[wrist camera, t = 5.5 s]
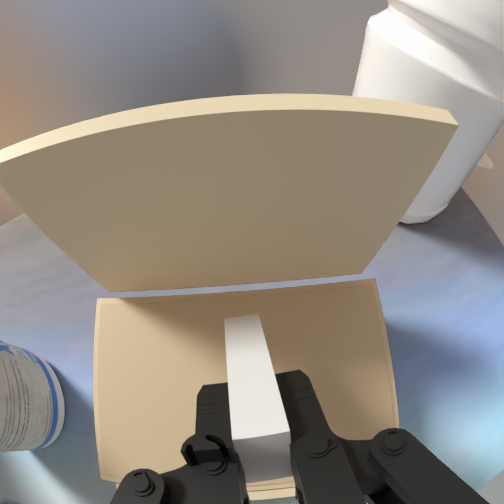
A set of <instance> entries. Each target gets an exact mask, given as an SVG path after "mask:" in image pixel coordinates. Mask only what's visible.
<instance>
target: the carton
mask: <svg viewBox="0 0 504 504" xmlns="http://www.w3.org/2000/svg"><path fill="white" fill-rule="evenodd" d="M257 313H258V314H259V318H260V321H261V325H262V329H263V333H264V336H265V340H266V344H267V348H268V351H269V355H270V359H271V363H272V366H273V370H274V374H278V373H283V372H288V371H294V370H299V369H300V370H301V371H302V372H303V373H305V374H306V375H307V376H308V377H309V379H310V381H311V384H312V386H313V389H314V391H315V393H316V397H317V398H318V401H319V403H320V406H321V408H322V411H323V413H324V415H325V418H326V420H327V423H328V425H329V427H330V429H331V431H332V432H333V433H334V434H336V435H337V436H339V437H341V438H344V439H347V440H370V439H373V437H374V436H375V435H376V434H378V433H379V432H380V431H382V430H385V429H387V428H400V426H399V415H398V405H397V396H396V388H395V380H394V373H393V366H392V360H391V354H390V348H389V342H388V336H387V331H386V326H385V321H384V316H383V311H382V306H381V301H380V297H379V292H378V288H377V284H376V280H375V278H373V279H365V280H356V281H347V282H337V283H328V284H318V285H308V286H297V287H286V288H275V289H263V290H251V291H238V292H224V293H209V294H193V295H175V296H156V297H133V298H104V299H97V307H96V320H95V335H94V362H93V393H94V419H95V434H96V446H97V455H98V464H99V471H100V478H101V480H106V481H111V482H116V489H118V487H119V485H120V483H121V481H122V479H123V478H124V477H125V475H126V474H128V473H129V472H131V471H133V470H136V469H140V468H143V469H151V470H153V471H155V472H157V473H158V474H161V473H165V472H168V471H172V470H175V469H178V468H180V467H182V466H184V465H185V464H187V463H186V461H185V459H184V457H183V456H182V454H181V452H180V450H181V447H182V444H183V443H184V442H185V441H186V440H187V439H188V438H189V437H191V436H192V435H194V434H195V425H196V408H197V407H196V403H197V394H198V393H199V391H200V389H201V388H202V386H203V385H208V384H217V383H225V382H228V377H227V361H226V344H225V325H224V318H231V317H238V316H245V315H251V314H257ZM246 487H247V493H248V496H249V499H250V500H264V499H275V498H284V497H292V496H296V495H295V482H294V478H293V476H290V477H285V478H280V479H274V480H268V481H261V482H254V483H246Z"/></svg>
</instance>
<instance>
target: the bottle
mask: <svg viewBox="0 0 504 504" xmlns="http://www.w3.org/2000/svg"><path fill="white" fill-rule="evenodd" d="M387 1H388V3H389V6H388V8H387V9H385V10H384V11H382V12H380V13H378V14H376V15H374V16H371V17H370V19H369V21H368V24H367V28H366V34H365V41H364V46H363V51H362V56H361V61H360V65H359V69H358V74H357V78H356V83H355V87H354V91H353V95H352V96H356V97H367V98H376V99H385V100H393V101H400V102H406V103H413V104H419V105H424V106H430V107H435V108H440V109H445V110H448V111H449V112H450V114H451V115H452V116H453V118H454V119H455V120H456V122H457V123H458V125H459V126H458V128H457V130H456V132H455V134H454V135H453V137H452V139H451V141H450V142H449V144H448V146H447V148H446V149H445V151H444V153H443V154H442V156H441V158H440V160H439V161H438V163H437V165H436V166H435V168H434V169H433V171H432V173H431V174H430V176H429V177H428V179H427V181H426V182H425V184H424V185H423V187H422V189H421V190H420V192H419V193H418V195H417V196H416V198H415V199H414V201H413V202H412V204H411V205H410V207H409V208H408V210H407V211H406V213H405V214H404V216H403V217H402V219H401V220H400V221H399V222H403V223H406V224H410V223H422V222H427V221H428V220H430V219H432V218H433V217H435V216H436V215H438V214H439V213H441V212H442V211H443V210H444V209H445V208H446V207H447V205H448V203H449V201H450V200H451V198H452V197H453V196H454V194H455V193H456V192H457V191H458V189H459V188H460V187H461V185H462V184H463V183H464V181H465V180H466V179H467V177H468V176H469V175H470V173H471V172H472V170H473V169H474V168H475V166H476V165H477V163H478V162H479V160H480V159H481V158H482V156H483V155H484V153H485V151H486V150H487V148H488V147H489V146H490V144H491V142H492V141H493V139H494V138H495V136H496V135H497V133H498V131H499V130H500V129H501V127H502V125H503V124H504V0H387Z"/></svg>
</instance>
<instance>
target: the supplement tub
mask: <svg viewBox="0 0 504 504" xmlns="http://www.w3.org/2000/svg"><path fill="white" fill-rule="evenodd" d="M64 415H65V406H64V397H63V393H62V389H61V386H60V383H59V381H58V379H57V377H56V375H55V373H54V371H53V370H52V368H51V367H50V365H49V364H48V363H47V362H46V361H45V360H44V359H43V358H42V357H40V356H39V355H37V354H36V353H34V352H31V351H28V350H25V349H22V348H20V347H17V346H14V345H11V344H9V343H6V342H3V341H0V452H8V451H24V450H34V449H41V448H45V447H47V446H49V445H50V444H52V443H53V442H54V441H55V440H56V439H57V437H58V436H59V434H60V432H61V430H62V427H63V423H64Z"/></svg>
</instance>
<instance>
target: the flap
mask: <svg viewBox="0 0 504 504" xmlns="http://www.w3.org/2000/svg"><path fill="white" fill-rule="evenodd" d="M458 126H459V125H458V123H457V122H456V120H455V119H454V118H453V116H452V115H451V114H450V112H449V111H448V110H445V109H440V108H435V107H430V106H424V105H419V104H413V103H406V102H400V101H393V100H385V99H376V98H367V97H356V96H342V95H324V94H258V95H239V96H226V97H214V98H204V99H195V100H188V101H179V102H173V103H166V104H160V105H155V106H149V107H143V108H138V109H133V110H128V111H123V112H119V113H114V114H110V115H106V116H101V117H98V118H94V119H90V120H86V121H82V122H79V123H75V124H72V125H69V126H65V127H62V128H59V129H56V130H53V131H49V132H46V133H44V134H41V135H38V136H35V137H32V138H29V139H27V140H24V141H21V142H19V143H16V144H14V145H11V146H9V147H6V148H4V149H2V150H0V185H1V187H2V188H3V189H4V190H5V191H6V192H7V194H8V195H9V196H10V197H11V198H12V199H13V200H14V201H15V203H16V204H17V205H18V206H19V207H20V208H21V209H22V210H23V211H24V212H25V214H26V215H27V216H28V217H29V218H30V219H31V220H32V221H33V222H34V223H35V224H36V225H37V226H38V227H39V228H40V229H41V230H42V231H43V232H44V233H45V234H46V235H47V236H48V237H49V238H50V239H51V240H52V241H53V242H54V243H55V244H56V245H57V246H58V247H59V248H60V249H61V250H62V251H63V252H64V253H66V254H67V255H68V256H69V257H70V258H71V259H72V260H73V261H74V262H75V263H76V264H77V265H79V266H80V267H81V268H82V269H83V270H84V271H85V272H86V273H88V274H89V275H90V276H91V277H92V278H93V279H94V280H96V281H97V282H98V283H99V284H100V285H101V286H103V287H104V288H105V289H106V290H107V291H109V292H125V291H146V290H165V289H182V288H198V287H214V286H228V285H241V284H254V283H267V282H279V281H290V280H301V279H312V278H322V277H333V276H342V275H352V274H361V273H362V272H363V270H364V269H365V268H366V267H367V265H368V264H369V263H370V261H371V260H372V259H373V257H374V256H375V255H376V253H377V252H378V251H379V249H380V248H381V247H382V245H383V244H384V242H385V241H386V240H387V238H388V237H389V236H390V234H391V233H392V231H393V230H394V229H395V227H396V226H397V224H398V223H399V221H400V220H401V219H402V217H403V216H404V214H405V213H406V211H407V210H408V208H409V207H410V205H411V204H412V202H413V201H414V199H415V198H416V196H417V195H418V193H419V192H420V190H421V189H422V187H423V185H424V184H425V182H426V181H427V179H428V177H429V176H430V174H431V173H432V171H433V169H434V168H435V166H436V165H437V163H438V161H439V160H440V158H441V156H442V154H443V153H444V151H445V149H446V148H447V146H448V144H449V142H450V141H451V139H452V137H453V135H454V134H455V132H456V130H457V128H458Z"/></svg>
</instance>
